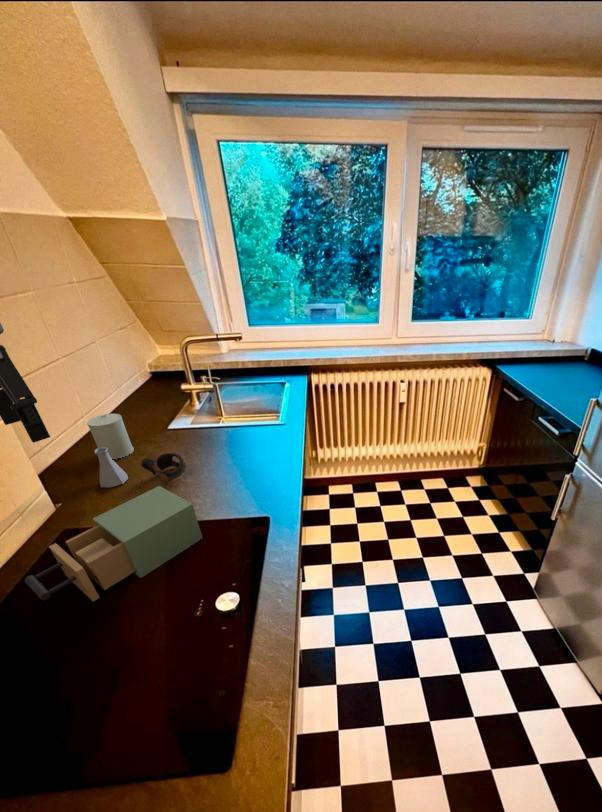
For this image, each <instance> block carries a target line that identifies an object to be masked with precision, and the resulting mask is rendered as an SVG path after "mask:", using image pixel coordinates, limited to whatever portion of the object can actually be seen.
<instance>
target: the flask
mask: <svg viewBox="0 0 602 812" xmlns="http://www.w3.org/2000/svg"><path fill="white" fill-rule="evenodd" d="M94 454H95V455H96V456H97V458H98V463H99V486H100V488H114V487H117V486H120V485H123V484H125V482H127V480H129V477H128V474H127V473H126V472H125V471H124V469H123V468H121V467H120V466H119V465H118V464H117V462H116V461H115V460H112V458H111V457H110V455H109V453H108V448H107V447H102V448H98V447H97V448H96V449H94Z"/></svg>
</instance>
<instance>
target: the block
mask: <svg viewBox="0 0 602 812" xmlns="http://www.w3.org/2000/svg"><path fill="white" fill-rule="evenodd" d="M112 547H113V546H112V545H111V544H109V543H108V542H107V541H105V540H104V539H102V538H101V539H99V540H98V541H96V542H94V543H92V544H90V545H88V546H86V547H85V548H83V549H81V550H79V551H77V552H75V553H76V555H77V557H78V558H79V560H80V562H81V564H82V566H83V567H84V569H85V571H86V572H87V573H88V574H90V575H91V576H92V577H93V578H94V579H95V580H97V581H98V579H97V577H96V575H95V573H94V571H93V570H92V568H91V566H90V564H89V562H88V561H89V560H90V559H92V558H94V557H96V556H98V555H99V554H101V553H103V552H105V551H107V550H108V549H110V548H112Z"/></svg>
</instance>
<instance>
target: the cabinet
mask: <svg viewBox="0 0 602 812" xmlns="http://www.w3.org/2000/svg"><path fill="white" fill-rule="evenodd" d="M92 521H93V523H94V525H95V526H97V525H99V526H100V527H102V528H103V529H104V530H106V531H107V532H108V533H110V534H111V535H112V536H114V537H115V538H116V539H118V540H119V541H120V542H122V543H123V544H124V546H125V548H126V550H127V553H128V555H129V557H130V559H131V561H132V563H133V566H134V568H135V570H136V571H135V572H133V573H132V574H135V575H136V577H139V578H140V579H142V578H144V577H145V576H147V575H148V574H150V573H151V572H153V571H154V570H156V569H157V568H159V567H160V566H162V565H164V564H165V563H166V562H168V561H170V560H172V559H173V558H174V557H176V556H178V555H179V554H181V553H183V551H185V550H187V549H189V548H190V547H191V545H192V546H193V545H195V544H196V543H198V542H199V541H201V540H202V539H204V538H203V534H202V532H201V527H200V525H199V521H198V519H197V514H196V511H195V508H194V506H193V503H191V502H189V501H187V500H185V499H184V498H182V497H180V496H178V495H176V493H173V492H172V491H169V490H167V489H166V488H164V487H162V486H160V485H158V486H156V487H154V488H152V489H150V490H147V491H145V492H144V493H142V494H139V495H138V496H136V497H133V498H132V499H130V500H128V501H125V502H124V503H121V504H120V505H117V506H115V507H113V508H111V509H109V510H107V511H105V512H103V513H101V514H98V515H96V516H95V517H93V518H92ZM200 539H201V540H200ZM177 554H178V555H177Z"/></svg>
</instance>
